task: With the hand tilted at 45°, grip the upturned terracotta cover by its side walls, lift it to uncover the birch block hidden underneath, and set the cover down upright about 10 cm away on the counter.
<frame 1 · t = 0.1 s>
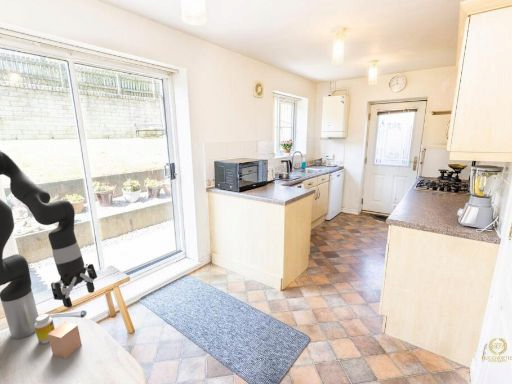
hand: (80, 299, 91), 22 cm above the table, tool pointing down, fingers open, 8 cm apart
supplement bottle: (47, 339, 102), on the table
terracotta cover: (67, 349, 97), on the table
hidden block: (66, 345, 96), in the terracotta cover
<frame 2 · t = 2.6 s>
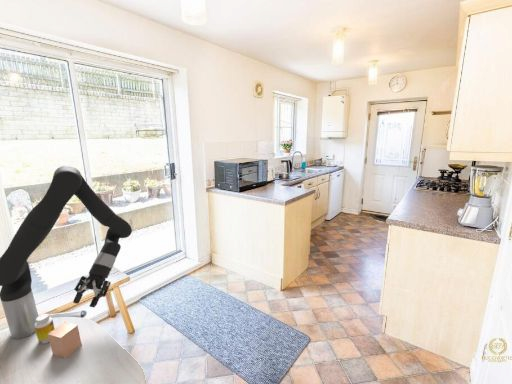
hand: (83, 305, 102), 13 cm above the table, tool tilted 45°, fingers open, 8 cm apart
nothing on the table moved.
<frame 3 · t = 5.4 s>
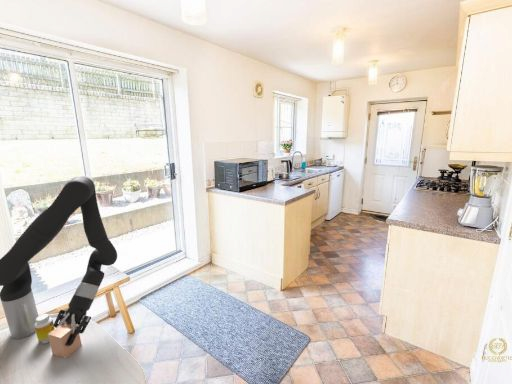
hand: (61, 343, 94), 4 cm above the table, tool tilted 45°, fingers closed on terracotta cover, 6 cm apart
terracotta cover: (67, 349, 97), on the table, touching gripper
everything else where it was.
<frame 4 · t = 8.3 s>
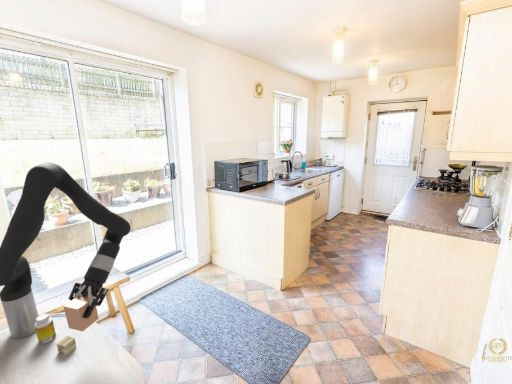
hand: (77, 316, 89), 18 cm above the table, tool tilted 45°, fingers closed on terracotta cover, 6 cm apart
terracotta cover: (84, 323, 92), point 13 cm above the table, touching gripper
everything else where it was.
when the fingers open (6 cm above the table, at t = 11.6 s): terracotta cover drops 1 cm, on the table.
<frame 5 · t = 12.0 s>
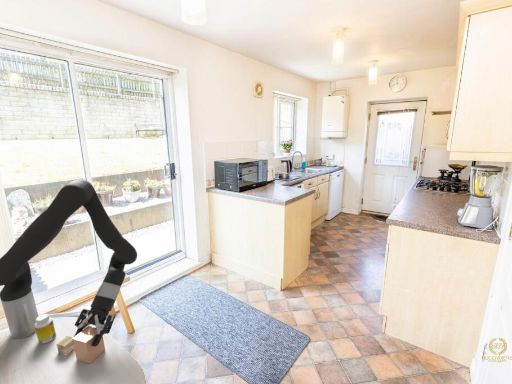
hand: (84, 343, 92), 6 cm above the table, tool tilted 45°, fingers open, 8 cm apart
terracotta cover: (91, 354, 94), on the table
everything else where it was.
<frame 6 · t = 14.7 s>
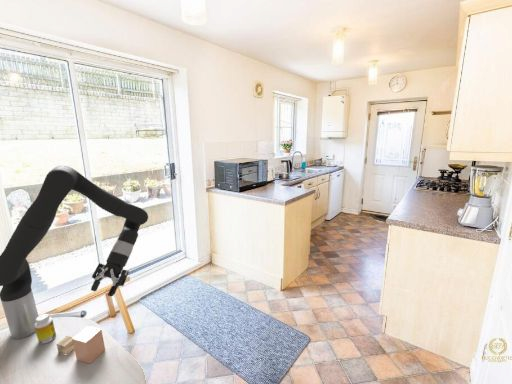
hand: (101, 293, 100), 19 cm above the table, tool tilted 40°, fingers open, 8 cm apart
nothing on the table moved.
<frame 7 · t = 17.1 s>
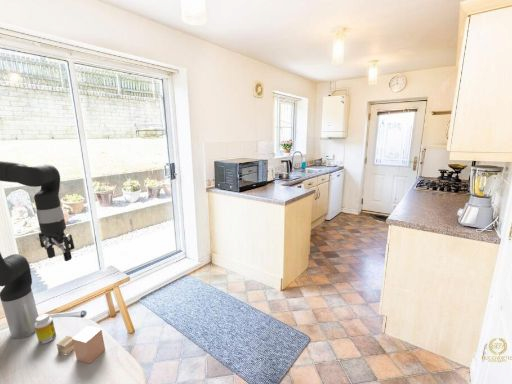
hand: (60, 258, 98), 33 cm above the table, tool pointing down, fingers open, 8 cm apart
nothing on the table moved.
at the end: terracotta cover inside the target area (0.1 cm from its centre), on the table; terracotta cover tilted 0°; the gripper is holding nothing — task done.
